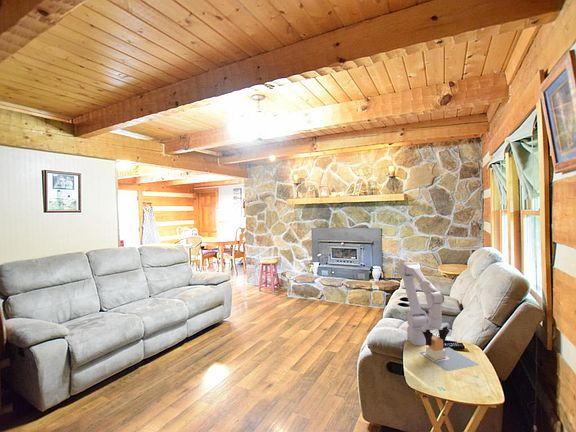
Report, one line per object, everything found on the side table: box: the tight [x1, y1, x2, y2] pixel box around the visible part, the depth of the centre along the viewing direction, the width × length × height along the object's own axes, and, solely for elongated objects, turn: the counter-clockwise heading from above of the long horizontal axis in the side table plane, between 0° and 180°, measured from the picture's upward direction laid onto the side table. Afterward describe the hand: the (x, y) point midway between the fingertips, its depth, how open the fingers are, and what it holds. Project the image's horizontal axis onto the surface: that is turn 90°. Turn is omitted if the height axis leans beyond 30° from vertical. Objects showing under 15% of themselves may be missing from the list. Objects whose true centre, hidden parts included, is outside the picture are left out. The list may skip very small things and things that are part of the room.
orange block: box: [428, 335, 444, 351], centre depth 148 cm, size 4×4×5 cm
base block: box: [425, 345, 446, 360], centre depth 148 cm, size 6×6×4 cm
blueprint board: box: [419, 346, 480, 372], centre depth 146 cm, size 18×18×1 cm
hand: (435, 343), depth 148 cm, fingers open, 7 cm apart
